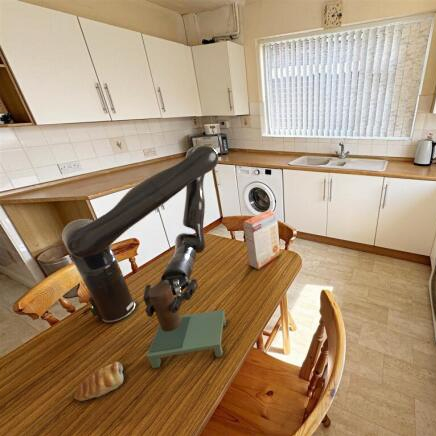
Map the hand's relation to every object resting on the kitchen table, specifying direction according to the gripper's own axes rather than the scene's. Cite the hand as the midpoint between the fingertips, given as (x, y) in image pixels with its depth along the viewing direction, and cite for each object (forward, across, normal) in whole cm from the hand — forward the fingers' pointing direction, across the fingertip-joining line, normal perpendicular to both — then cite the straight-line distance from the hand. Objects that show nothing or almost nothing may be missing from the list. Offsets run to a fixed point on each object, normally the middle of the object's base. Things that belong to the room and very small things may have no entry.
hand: (161, 312), depth 59 cm
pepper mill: (-3, 0, +7) cm, 7 cm away
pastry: (+6, -15, +15) cm, 22 cm away
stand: (-2, +4, +15) cm, 16 cm away
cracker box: (-39, +27, +16) cm, 50 cm away
